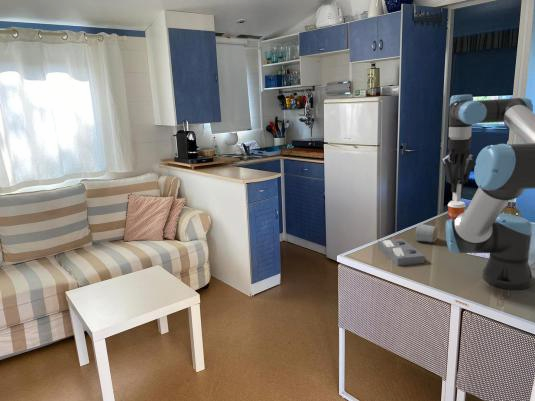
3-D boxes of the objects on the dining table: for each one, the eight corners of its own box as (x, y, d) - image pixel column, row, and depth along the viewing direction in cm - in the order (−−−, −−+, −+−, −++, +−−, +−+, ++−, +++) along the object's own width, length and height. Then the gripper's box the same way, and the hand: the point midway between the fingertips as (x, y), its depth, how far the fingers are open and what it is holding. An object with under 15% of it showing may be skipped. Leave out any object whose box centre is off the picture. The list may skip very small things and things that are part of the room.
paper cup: (445, 232, 193) (446, 204, 189) (447, 227, 199) (449, 199, 196) (463, 234, 189) (465, 205, 185) (465, 229, 195) (467, 201, 191)
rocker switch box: (424, 262, 163) (424, 255, 162) (397, 265, 162) (397, 258, 161) (401, 244, 182) (402, 238, 181) (378, 247, 181) (378, 240, 180)
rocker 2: (404, 258, 165) (405, 256, 164) (397, 259, 164) (397, 257, 164) (400, 249, 168) (400, 247, 168) (392, 249, 168) (393, 248, 167)
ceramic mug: (434, 245, 179) (435, 228, 177) (414, 242, 183) (415, 226, 182) (438, 237, 188) (439, 221, 186) (419, 235, 192) (420, 219, 190)
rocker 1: (394, 248, 174) (394, 246, 173) (387, 249, 173) (387, 246, 173) (389, 241, 178) (390, 239, 178) (382, 242, 178) (382, 240, 177)
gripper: (468, 136, 156) (465, 196, 161) (437, 138, 153) (435, 200, 159) (482, 137, 149) (478, 201, 154) (449, 140, 146) (447, 204, 152)
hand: (456, 200), depth 157 cm, fingers closed
